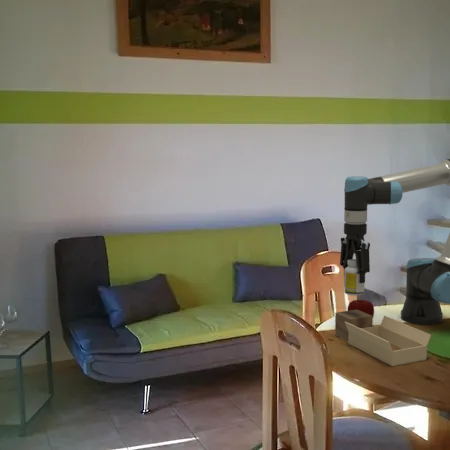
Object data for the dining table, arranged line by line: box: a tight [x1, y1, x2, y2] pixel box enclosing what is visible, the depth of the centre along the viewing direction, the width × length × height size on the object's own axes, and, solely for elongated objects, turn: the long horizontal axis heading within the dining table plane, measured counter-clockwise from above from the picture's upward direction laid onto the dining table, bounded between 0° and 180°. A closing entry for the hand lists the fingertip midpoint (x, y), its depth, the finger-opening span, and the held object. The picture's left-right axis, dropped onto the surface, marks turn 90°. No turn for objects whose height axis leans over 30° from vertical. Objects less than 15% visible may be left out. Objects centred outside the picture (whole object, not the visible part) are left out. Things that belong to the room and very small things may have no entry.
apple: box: [346, 299, 375, 317], centre depth 230 cm, size 10×10×10 cm
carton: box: [345, 315, 432, 367], centre depth 204 cm, size 16×23×8 cm
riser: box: [334, 310, 374, 342], centre depth 219 cm, size 9×9×8 cm
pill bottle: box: [343, 258, 364, 297], centre depth 216 cm, size 6×6×12 cm
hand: (353, 289), depth 217 cm, fingers closed on pill bottle, 6 cm apart
